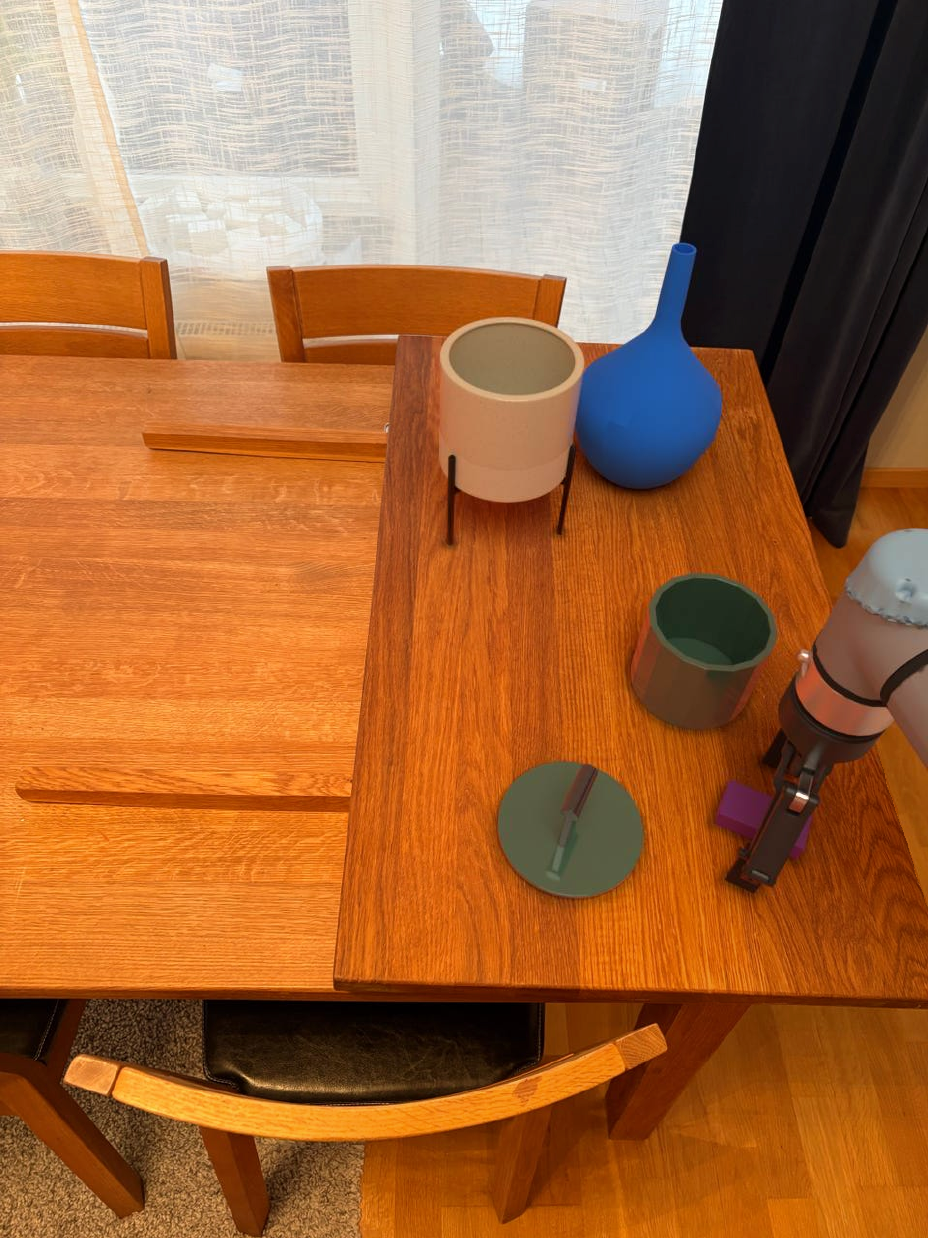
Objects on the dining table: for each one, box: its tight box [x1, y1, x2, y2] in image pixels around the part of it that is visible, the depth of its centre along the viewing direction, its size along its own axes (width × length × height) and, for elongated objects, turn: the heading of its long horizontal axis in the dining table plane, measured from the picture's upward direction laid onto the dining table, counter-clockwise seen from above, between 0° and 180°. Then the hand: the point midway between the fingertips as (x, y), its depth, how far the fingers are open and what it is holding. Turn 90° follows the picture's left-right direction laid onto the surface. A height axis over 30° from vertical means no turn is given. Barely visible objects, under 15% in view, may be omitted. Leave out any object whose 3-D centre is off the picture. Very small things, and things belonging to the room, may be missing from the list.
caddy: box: [630, 572, 779, 731], centre depth 88 cm, size 12×12×10 cm
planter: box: [438, 316, 585, 546], centre depth 99 cm, size 15×16×23 cm
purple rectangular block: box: [713, 779, 814, 860], centre depth 81 cm, size 8×4×2 cm, turn 64°
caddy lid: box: [496, 761, 644, 900], centre depth 77 cm, size 14×14×8 cm
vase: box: [574, 242, 723, 490], centre depth 103 cm, size 18×18×30 cm
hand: (759, 821), depth 82 cm, fingers open, 13 cm apart
